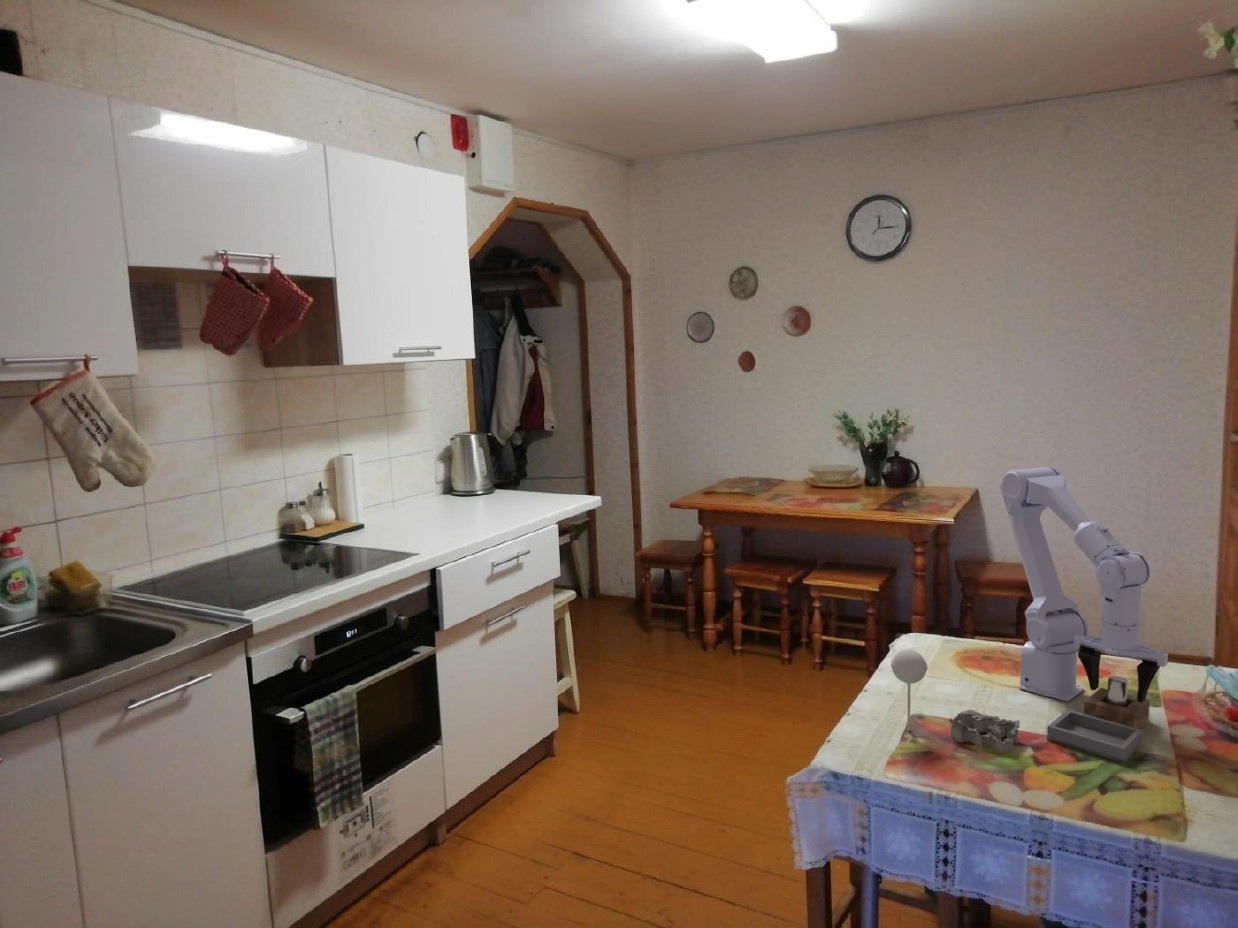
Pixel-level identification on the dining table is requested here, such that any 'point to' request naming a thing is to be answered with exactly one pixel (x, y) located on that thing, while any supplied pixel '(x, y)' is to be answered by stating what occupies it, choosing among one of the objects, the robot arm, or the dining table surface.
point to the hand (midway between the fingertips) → (1117, 694)
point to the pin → (1117, 691)
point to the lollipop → (909, 671)
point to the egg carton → (981, 724)
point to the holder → (1118, 709)
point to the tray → (1095, 735)
